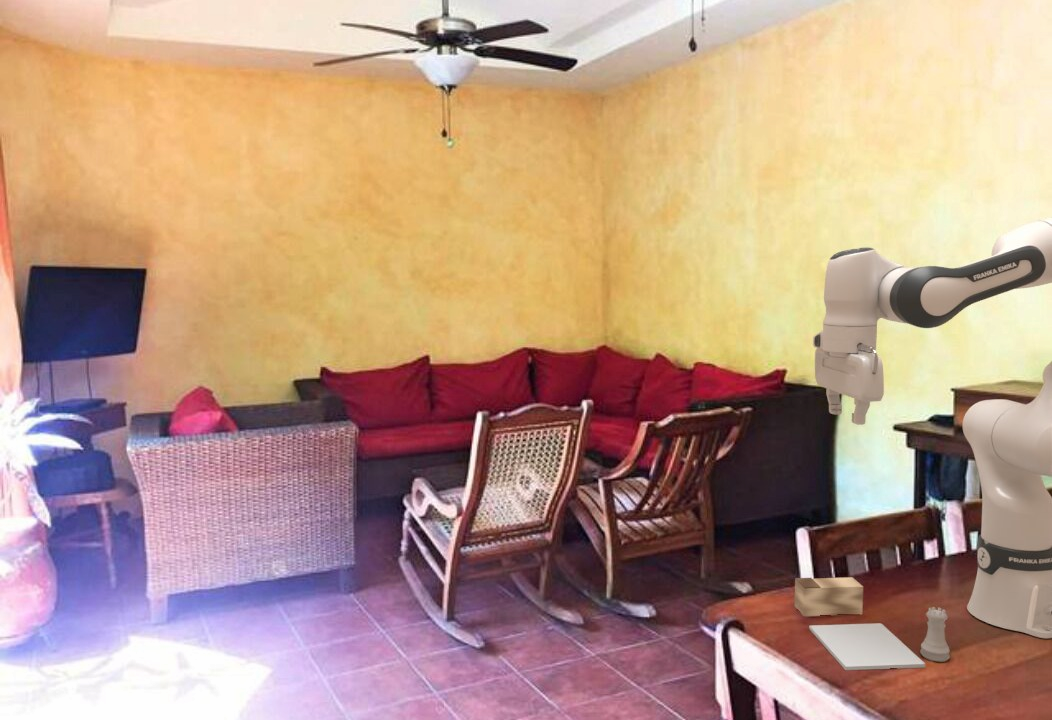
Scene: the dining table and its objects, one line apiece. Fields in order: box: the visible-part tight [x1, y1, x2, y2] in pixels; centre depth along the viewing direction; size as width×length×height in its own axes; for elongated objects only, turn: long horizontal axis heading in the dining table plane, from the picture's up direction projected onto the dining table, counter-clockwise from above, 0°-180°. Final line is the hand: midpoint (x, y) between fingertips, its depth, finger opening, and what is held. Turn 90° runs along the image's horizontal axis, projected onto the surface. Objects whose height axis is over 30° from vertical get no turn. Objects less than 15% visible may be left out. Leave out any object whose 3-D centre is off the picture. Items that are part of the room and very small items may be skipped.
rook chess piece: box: [919, 606, 951, 663], centre depth 135 cm, size 4×4×8 cm
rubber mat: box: [808, 622, 926, 671], centre depth 139 cm, size 13×15×1 cm
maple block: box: [794, 576, 864, 617], centre depth 153 cm, size 11×4×6 cm, turn 93°
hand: (846, 418), depth 146 cm, fingers open, 8 cm apart
